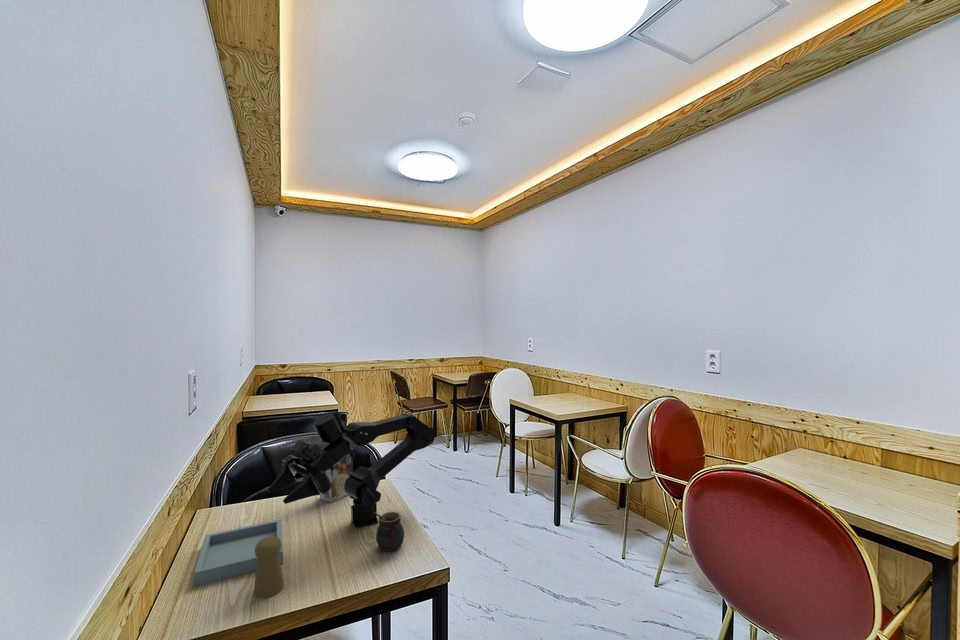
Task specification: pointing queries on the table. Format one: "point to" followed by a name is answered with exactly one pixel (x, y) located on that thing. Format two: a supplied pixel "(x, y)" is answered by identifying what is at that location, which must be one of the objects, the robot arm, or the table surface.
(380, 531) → the mate gourd
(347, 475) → the coffee box
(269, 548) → the cork
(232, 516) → the table surface
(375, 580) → the table surface
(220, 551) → the slate tray
